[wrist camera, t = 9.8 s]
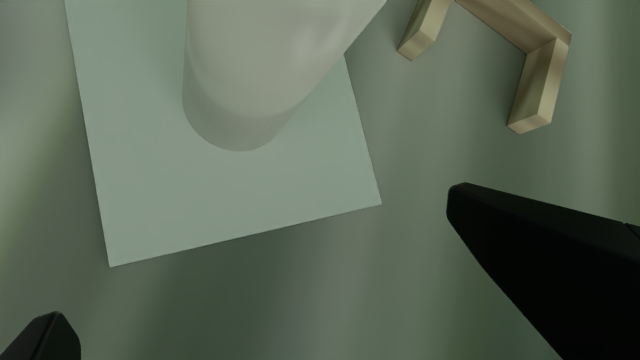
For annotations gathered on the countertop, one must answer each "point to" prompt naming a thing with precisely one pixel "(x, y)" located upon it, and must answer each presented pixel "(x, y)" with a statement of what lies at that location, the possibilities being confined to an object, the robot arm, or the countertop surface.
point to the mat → (199, 142)
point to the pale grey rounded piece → (261, 62)
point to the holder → (521, 30)
